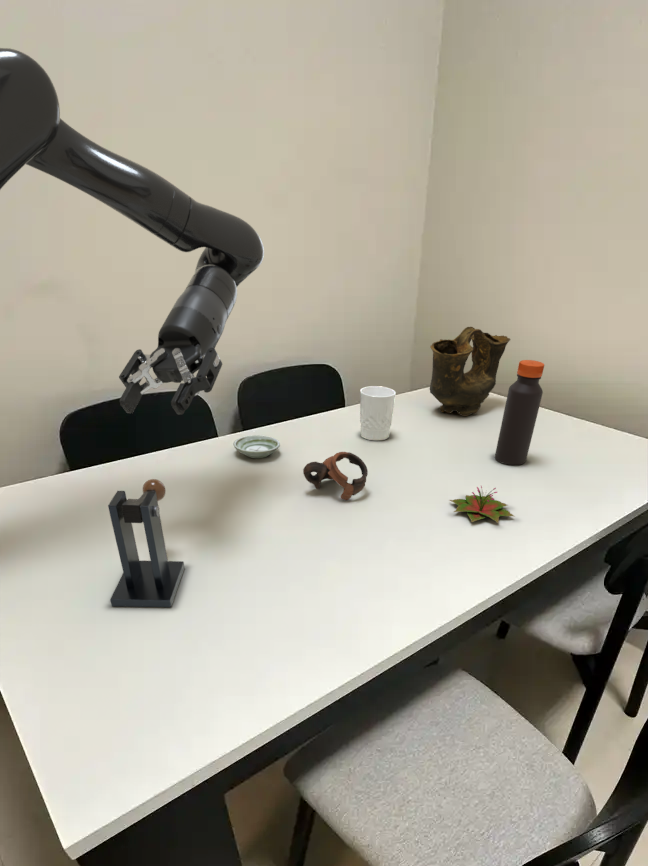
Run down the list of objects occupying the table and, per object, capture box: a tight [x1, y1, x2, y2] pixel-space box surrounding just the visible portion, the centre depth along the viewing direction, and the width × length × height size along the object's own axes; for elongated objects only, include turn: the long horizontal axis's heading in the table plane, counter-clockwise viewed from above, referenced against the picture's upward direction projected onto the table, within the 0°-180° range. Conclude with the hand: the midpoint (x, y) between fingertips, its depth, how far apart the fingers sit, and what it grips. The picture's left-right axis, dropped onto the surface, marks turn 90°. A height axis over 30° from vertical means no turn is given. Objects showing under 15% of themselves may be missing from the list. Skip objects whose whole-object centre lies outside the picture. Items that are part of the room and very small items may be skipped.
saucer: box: [233, 434, 281, 459], centre depth 123 cm, size 10×10×2 cm
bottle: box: [494, 359, 545, 466], centre depth 121 cm, size 7×7×20 cm
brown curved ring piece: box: [302, 451, 369, 501], centre depth 109 cm, size 12×10×8 cm
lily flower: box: [449, 485, 516, 524], centre depth 106 cm, size 12×12×5 cm
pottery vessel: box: [429, 326, 511, 417], centre depth 147 cm, size 25×11×20 cm, turn 132°
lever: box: [122, 478, 167, 524], centre depth 81 cm, size 13×3×3 cm, turn 2°
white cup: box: [359, 385, 397, 441], centre depth 132 cm, size 8×8×10 cm
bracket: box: [107, 490, 186, 608], centre depth 79 cm, size 10×8×14 cm
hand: (150, 409), depth 79 cm, fingers open, 8 cm apart
